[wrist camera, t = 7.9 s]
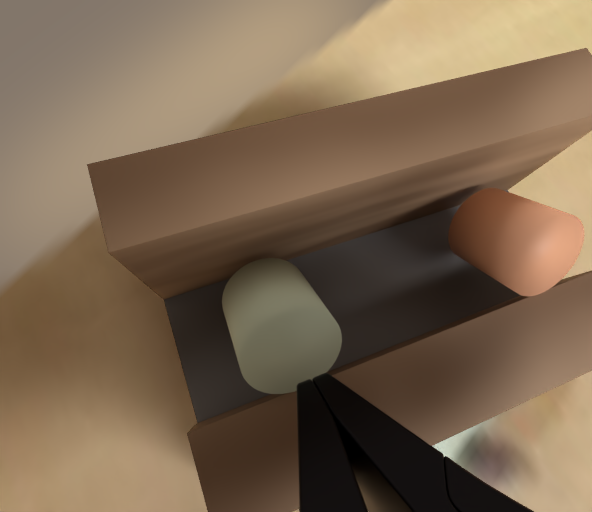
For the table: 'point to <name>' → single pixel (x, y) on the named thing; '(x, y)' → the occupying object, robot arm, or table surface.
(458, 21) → the table surface
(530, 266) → the terracotta button
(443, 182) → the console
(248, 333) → the sage button
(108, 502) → the table surface
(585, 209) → the table surface
